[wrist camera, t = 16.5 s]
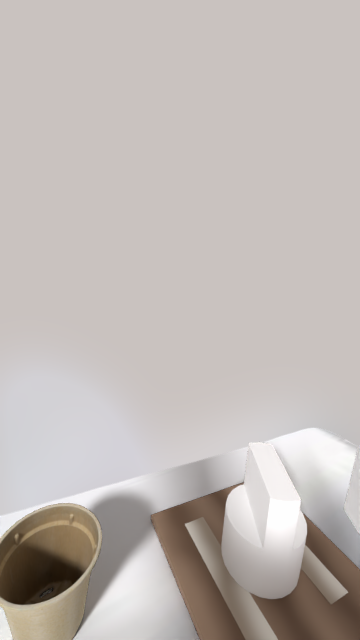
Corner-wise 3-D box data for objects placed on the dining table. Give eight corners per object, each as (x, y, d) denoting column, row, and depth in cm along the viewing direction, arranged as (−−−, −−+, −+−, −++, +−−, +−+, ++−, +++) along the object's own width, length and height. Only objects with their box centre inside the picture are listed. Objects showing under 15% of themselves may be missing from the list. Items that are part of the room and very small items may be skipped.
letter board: (243, 745, 21) (244, 737, 21) (150, 519, 38) (151, 514, 38) (396, 613, 29) (397, 606, 29) (263, 479, 47) (264, 474, 47)
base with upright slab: (216, 519, 38) (224, 440, 36) (282, 522, 38) (294, 444, 36) (228, 597, 29) (240, 499, 27) (313, 601, 29) (333, 503, 27)
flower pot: (121, 603, 29) (123, 533, 27) (32, 728, 21) (27, 641, 19) (63, 550, 34) (61, 488, 32) (-28, 636, 26) (-36, 559, 24)
